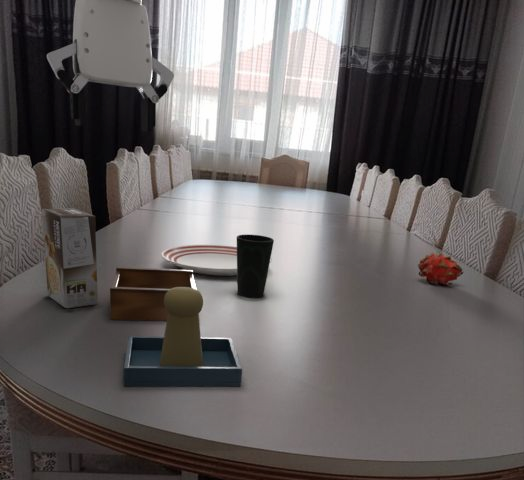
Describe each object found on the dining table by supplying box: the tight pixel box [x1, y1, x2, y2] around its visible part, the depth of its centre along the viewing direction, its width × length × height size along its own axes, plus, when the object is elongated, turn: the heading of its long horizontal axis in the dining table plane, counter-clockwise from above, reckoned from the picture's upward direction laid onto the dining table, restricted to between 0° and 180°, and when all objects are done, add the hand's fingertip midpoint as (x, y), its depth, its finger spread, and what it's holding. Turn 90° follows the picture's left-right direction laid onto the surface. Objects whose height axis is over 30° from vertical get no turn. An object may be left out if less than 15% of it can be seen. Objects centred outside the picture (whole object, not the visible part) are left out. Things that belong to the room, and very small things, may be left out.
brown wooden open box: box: [109, 266, 197, 322], centre depth 96 cm, size 15×15×6 cm
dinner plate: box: [160, 244, 272, 277], centre depth 130 cm, size 28×27×3 cm
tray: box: [123, 335, 243, 387], centre depth 73 cm, size 15×11×3 cm
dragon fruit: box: [417, 252, 464, 286], centre depth 135 cm, size 8×8×12 cm
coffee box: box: [41, 207, 99, 309], centre depth 93 cm, size 9×6×16 cm
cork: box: [160, 287, 204, 367], centre depth 71 cm, size 6×6×11 cm
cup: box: [236, 234, 275, 299], centre depth 108 cm, size 8×8×12 cm
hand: (114, 129), depth 75 cm, fingers open, 9 cm apart
